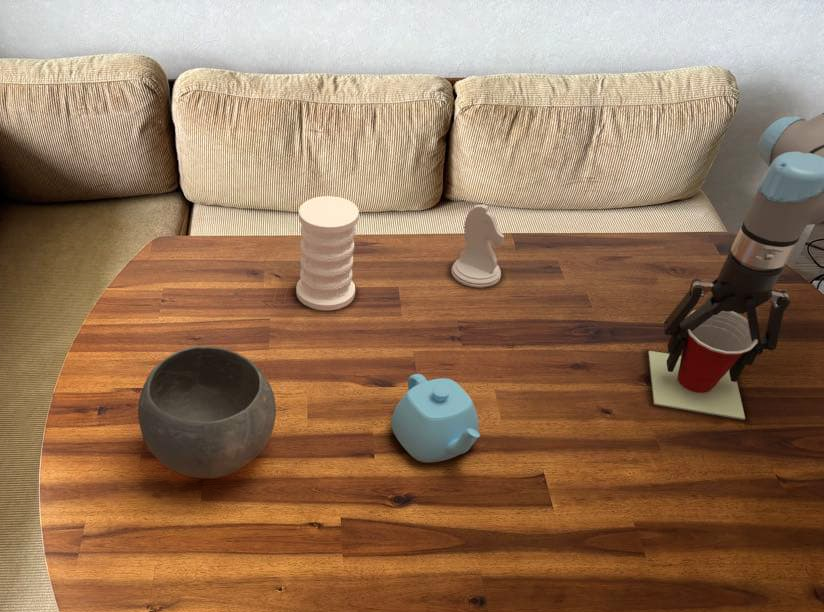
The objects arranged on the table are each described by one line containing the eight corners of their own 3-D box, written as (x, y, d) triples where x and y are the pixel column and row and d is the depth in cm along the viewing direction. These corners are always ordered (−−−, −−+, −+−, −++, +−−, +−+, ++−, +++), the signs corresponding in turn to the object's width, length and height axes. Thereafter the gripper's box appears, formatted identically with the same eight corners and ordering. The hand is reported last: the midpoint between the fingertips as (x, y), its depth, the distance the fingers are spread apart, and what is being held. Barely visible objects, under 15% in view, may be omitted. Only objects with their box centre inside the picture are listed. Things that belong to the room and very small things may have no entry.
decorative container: (346, 315, 146) (352, 232, 134) (288, 304, 149) (288, 222, 136) (361, 281, 154) (367, 200, 142) (305, 271, 157) (307, 191, 144)
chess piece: (486, 293, 151) (501, 226, 140) (442, 276, 155) (453, 210, 145) (508, 270, 156) (524, 204, 146) (465, 254, 161) (477, 189, 150)
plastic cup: (665, 398, 129) (691, 343, 120) (658, 357, 136) (682, 302, 128) (734, 409, 127) (766, 353, 118) (724, 366, 134) (753, 312, 126)
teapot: (443, 447, 107) (378, 370, 119) (433, 496, 115) (373, 418, 126) (517, 420, 111) (447, 347, 123) (502, 469, 118) (438, 396, 130)
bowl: (212, 526, 111) (204, 456, 100) (118, 457, 121) (102, 387, 110) (302, 447, 122) (303, 377, 111) (210, 390, 131) (203, 320, 121)
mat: (732, 365, 135) (732, 363, 135) (744, 420, 126) (745, 418, 125) (648, 352, 138) (648, 350, 138) (653, 404, 128) (654, 403, 128)
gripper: (680, 261, 114) (633, 374, 129) (844, 283, 109) (775, 397, 125) (675, 235, 119) (631, 347, 134) (832, 255, 115) (767, 368, 130)
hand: (700, 371), depth 130 cm, fingers closed on plastic cup, 9 cm apart
